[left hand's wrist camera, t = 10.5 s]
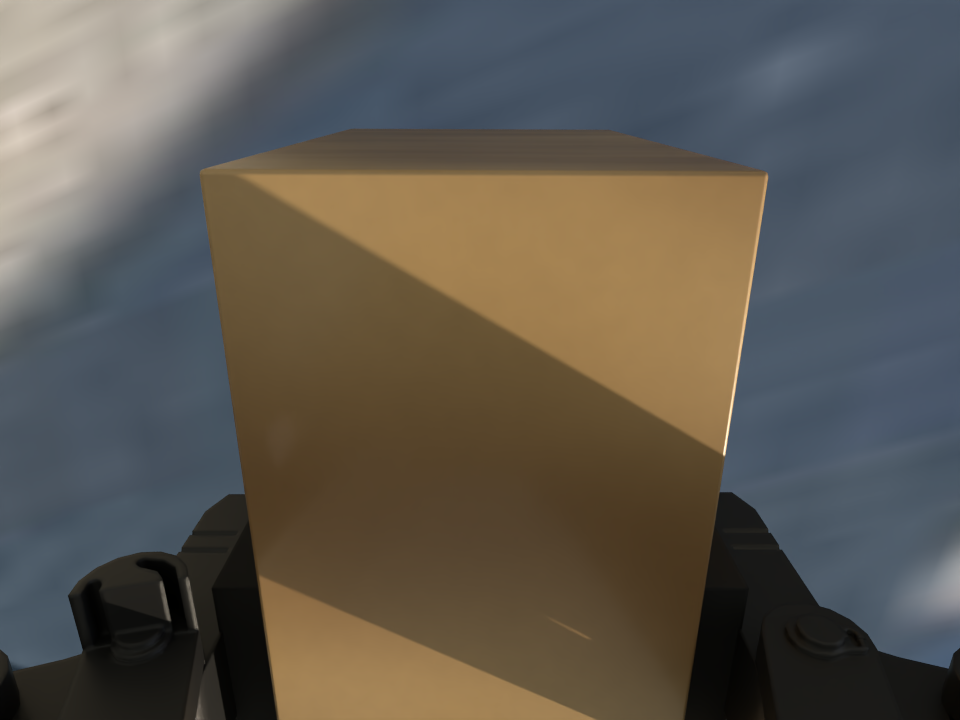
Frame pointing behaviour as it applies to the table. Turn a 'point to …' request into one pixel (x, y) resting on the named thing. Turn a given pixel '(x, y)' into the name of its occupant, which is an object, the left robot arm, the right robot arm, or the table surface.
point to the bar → (482, 413)
